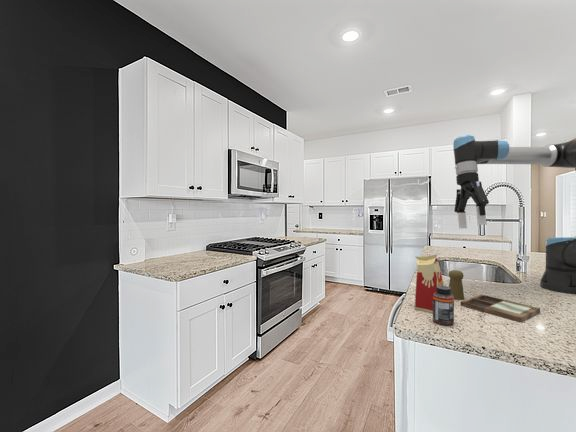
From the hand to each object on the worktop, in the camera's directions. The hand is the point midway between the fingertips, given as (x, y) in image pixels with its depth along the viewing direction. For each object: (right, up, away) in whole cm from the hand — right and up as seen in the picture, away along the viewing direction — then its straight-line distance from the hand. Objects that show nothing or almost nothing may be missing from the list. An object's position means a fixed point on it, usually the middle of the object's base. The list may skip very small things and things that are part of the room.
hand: (472, 226), depth 113 cm
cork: (-4, -29, +4) cm, 30 cm away
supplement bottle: (-22, -30, -21) cm, 43 cm away
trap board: (+4, -29, -9) cm, 31 cm away
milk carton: (-21, -30, -8) cm, 37 cm away
